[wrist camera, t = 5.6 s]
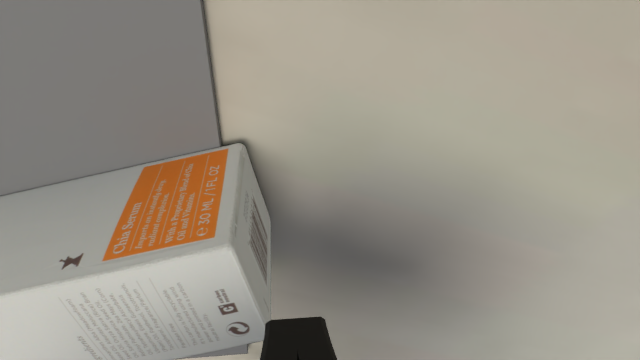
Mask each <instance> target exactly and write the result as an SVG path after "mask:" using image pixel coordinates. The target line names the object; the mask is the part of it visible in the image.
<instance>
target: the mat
mask: <svg viewBox="0 0 640 360" xmlns="http://www.w3.org/2000/svg"><path fill="white" fill-rule="evenodd" d="M218 147H222V144H221V136H220V128H219V121H218V113H217V106H216V98H215V91H214V83H213V76H212V68H211V61H210V53H209V45H208V38H207V30H206V23H205V15H204V8H203V0H0V196H4V195H9V194H13V193H17V192H22V191H26V190H31V189H35V188H39V187H44V186H48V185H53V184H57V183H62V182H66V181H71V180H75V179H79V178H84V177H88V176H93V175H97V174H102V173H106V172H110V171H115V170H119V169H124V168H129V167H133V166H137V165H142V164H146V163H151V162H156V161H160V160H164V159H168V158H173V157H178V156H182V155H186V154H190V153H196V152H200V151H205V150H209V149H214V148H218ZM235 354H248V344H245V345H241V346H236V347H231V348H227V349H222V350H217V351H212V352H207V353H202V354H197V355H192V356H188V357H184V358H197V357H209V356H222V355H235ZM184 358H178V359H184Z"/></svg>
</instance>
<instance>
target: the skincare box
mask: <svg viewBox="0 0 640 360" xmlns="http://www.w3.org/2000/svg"><path fill="white" fill-rule="evenodd" d="M270 320H271V221H270V217H269V213H268V211H267V208H266V205H265V202H264V199H263V197H262V194H261V191H260V188H259V185H258V182H257V180H256V177H255V174H254V171H253V168H252V165H251V162H250V159H249V156H248V153H247V150H246V147H245V145H243V144H241V143H236V144H232V145H228V146H223V147H218V148H214V149H209V150H205V151H200V152H196V153H190V154H186V155H182V156H178V157H173V158H168V159H164V160H160V161H156V162H151V163H146V164H142V165H137V166H133V167H129V168H124V169H119V170H115V171H110V172H106V173H102V174H97V175H93V176H88V177H84V178H79V179H75V180H71V181H66V182H62V183H57V184H53V185H48V186H44V187H39V188H35V189H31V190H26V191H22V192H17V193H13V194H9V195H4V196H0V360H173V359H178V358H184V357H188V356H192V355H197V354H202V353H207V352H212V351H217V350H222V349H227V348H231V347H236V346H241V345H245V344H250V343H255V342H260V341H264V334H265V324H266V323H267V322H268V321H270Z"/></svg>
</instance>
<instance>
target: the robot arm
mask: <svg viewBox="0 0 640 360" xmlns="http://www.w3.org/2000/svg"><path fill="white" fill-rule="evenodd" d="M260 360H337V358H336V355H335V352H334V349H333V347H332V344H331V341H330V337H329V334H328V330H327V327H326V322H325V319H323V318H322V317H309V318H295V319H281V320H270V321H268V322H267V323H266V324H265V334H264V341H263V348H262V353H261V358H260Z"/></svg>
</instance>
